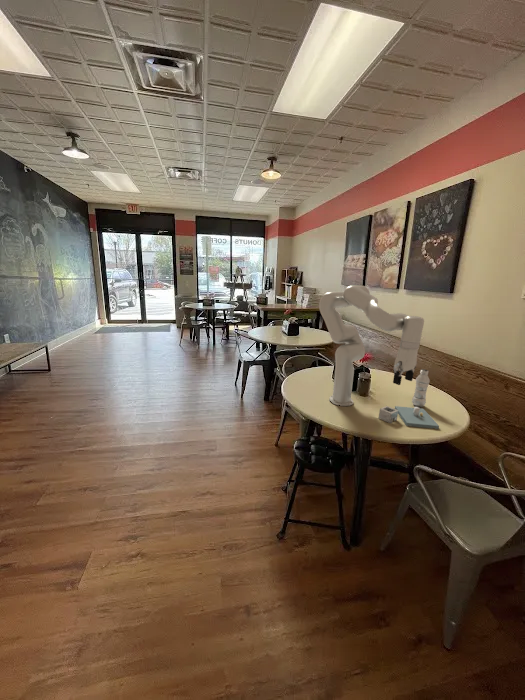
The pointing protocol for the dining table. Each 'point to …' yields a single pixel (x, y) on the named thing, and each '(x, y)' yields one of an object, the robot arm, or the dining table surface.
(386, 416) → the collar
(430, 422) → the base plate
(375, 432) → the dining table surface
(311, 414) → the dining table surface
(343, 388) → the robot arm
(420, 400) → the plastic bottle
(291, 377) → the dining table surface
